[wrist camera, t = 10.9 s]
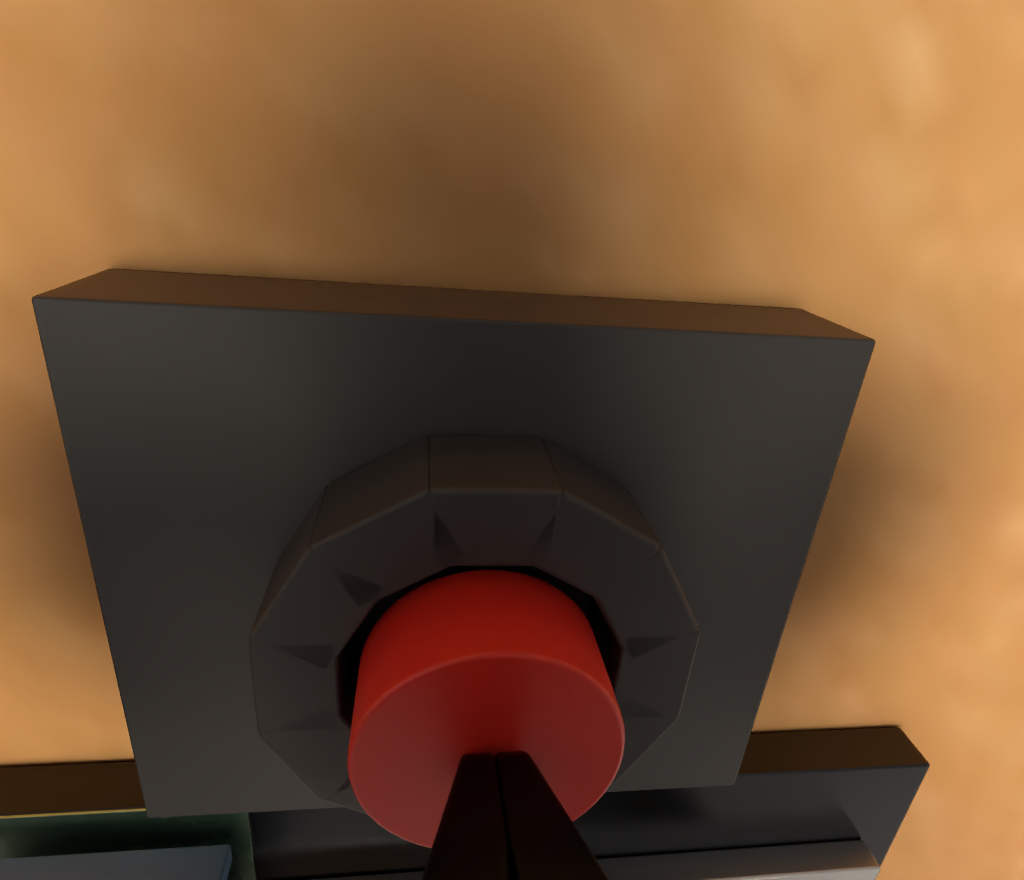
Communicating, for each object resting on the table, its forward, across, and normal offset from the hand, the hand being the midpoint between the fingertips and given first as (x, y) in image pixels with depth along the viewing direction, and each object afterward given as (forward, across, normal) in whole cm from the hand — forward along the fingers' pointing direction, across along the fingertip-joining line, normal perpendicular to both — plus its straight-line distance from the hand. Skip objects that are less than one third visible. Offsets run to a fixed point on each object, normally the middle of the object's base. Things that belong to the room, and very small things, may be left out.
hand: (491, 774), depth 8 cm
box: (+6, 0, 0) cm, 6 cm away
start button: (+2, 0, 0) cm, 2 cm away
